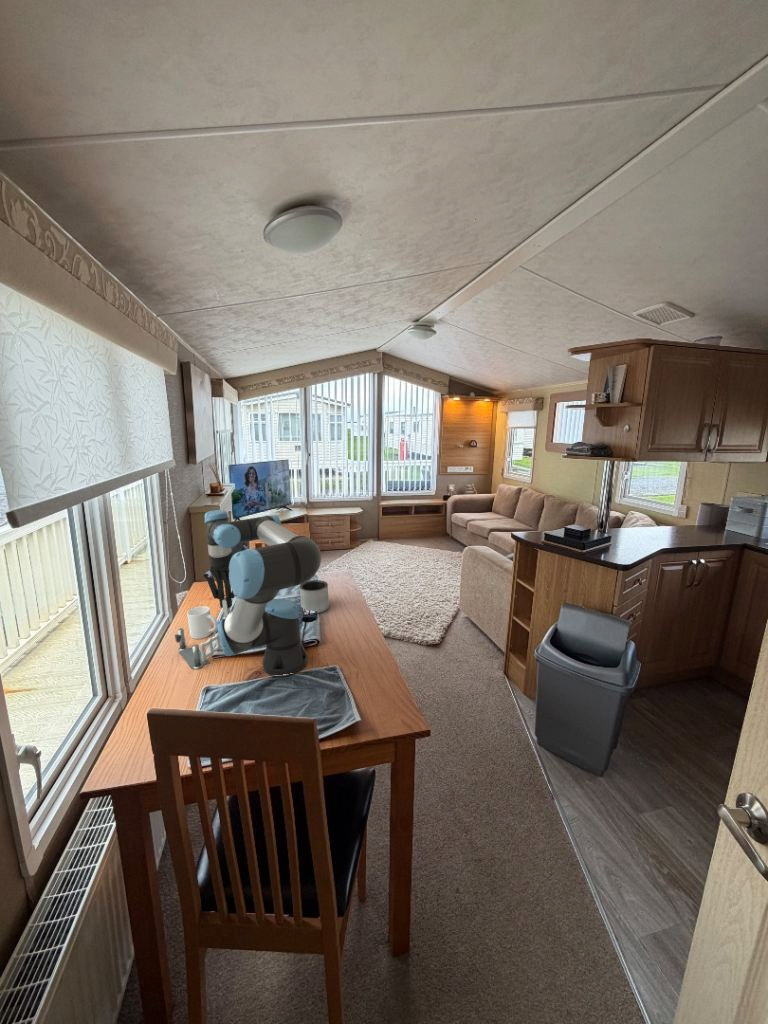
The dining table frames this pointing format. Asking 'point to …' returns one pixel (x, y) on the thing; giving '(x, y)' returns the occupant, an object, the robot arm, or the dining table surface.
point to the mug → (200, 622)
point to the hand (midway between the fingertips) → (227, 615)
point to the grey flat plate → (191, 657)
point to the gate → (210, 647)
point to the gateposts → (181, 640)
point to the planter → (314, 595)
